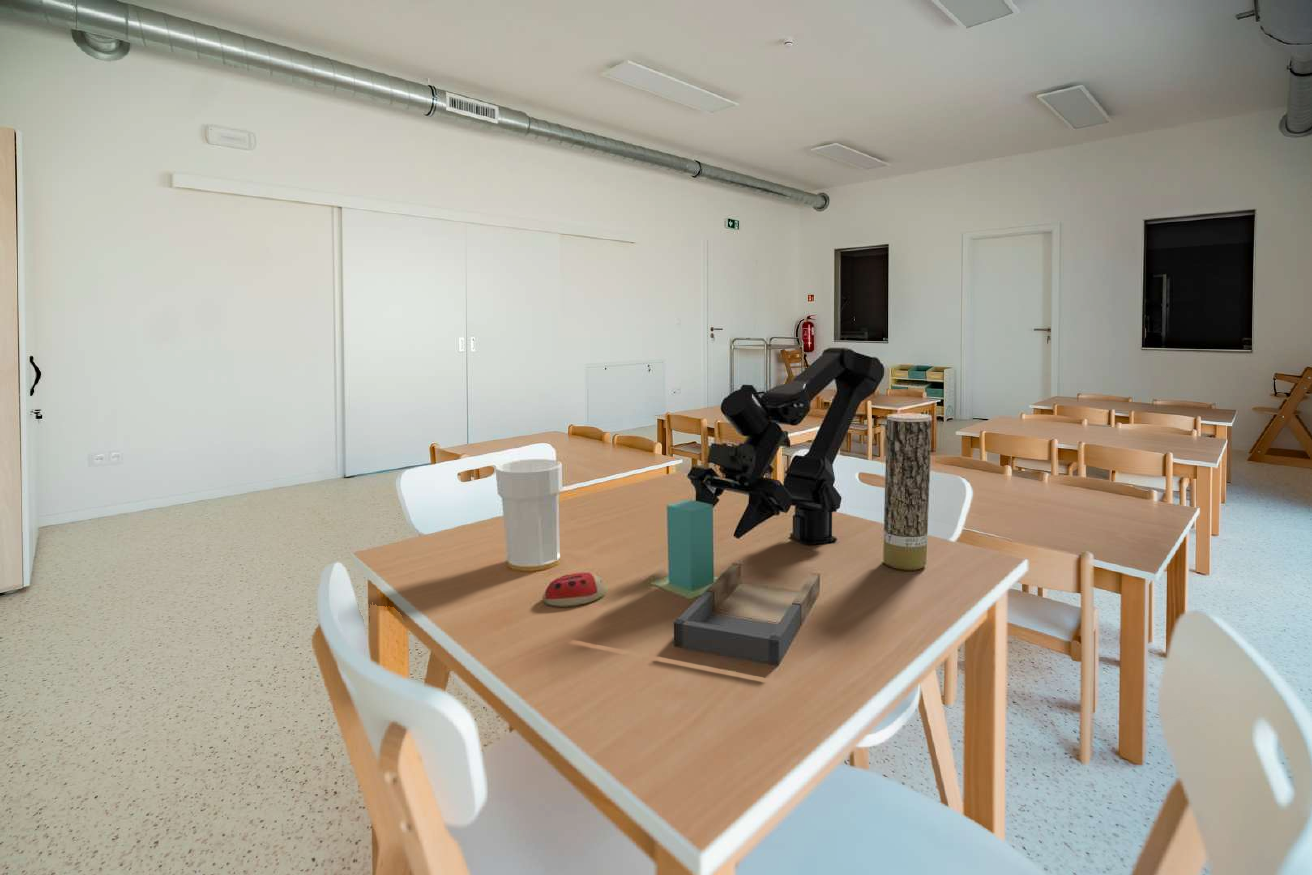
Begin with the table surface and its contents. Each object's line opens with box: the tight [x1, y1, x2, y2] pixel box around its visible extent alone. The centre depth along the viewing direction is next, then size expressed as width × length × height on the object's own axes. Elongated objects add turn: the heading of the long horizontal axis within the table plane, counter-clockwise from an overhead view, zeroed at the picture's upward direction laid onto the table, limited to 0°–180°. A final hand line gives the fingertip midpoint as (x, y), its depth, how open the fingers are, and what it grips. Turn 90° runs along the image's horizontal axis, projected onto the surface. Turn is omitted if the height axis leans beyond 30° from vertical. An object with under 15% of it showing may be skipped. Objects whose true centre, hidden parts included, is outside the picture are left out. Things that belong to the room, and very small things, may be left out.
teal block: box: [666, 499, 715, 591], centre depth 105 cm, size 5×5×12 cm
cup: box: [495, 458, 563, 572], centre depth 118 cm, size 11×11×17 cm
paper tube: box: [882, 412, 933, 571], centre depth 111 cm, size 7×7×25 cm
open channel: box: [706, 562, 821, 628], centre depth 98 cm, size 12×13×4 cm
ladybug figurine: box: [541, 572, 607, 608], centre depth 102 cm, size 7×10×4 cm
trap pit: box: [673, 591, 801, 667], centre depth 87 cm, size 11×13×4 cm
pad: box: [650, 575, 719, 600], centre depth 106 cm, size 9×9×1 cm
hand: (714, 531), depth 109 cm, fingers open, 9 cm apart
